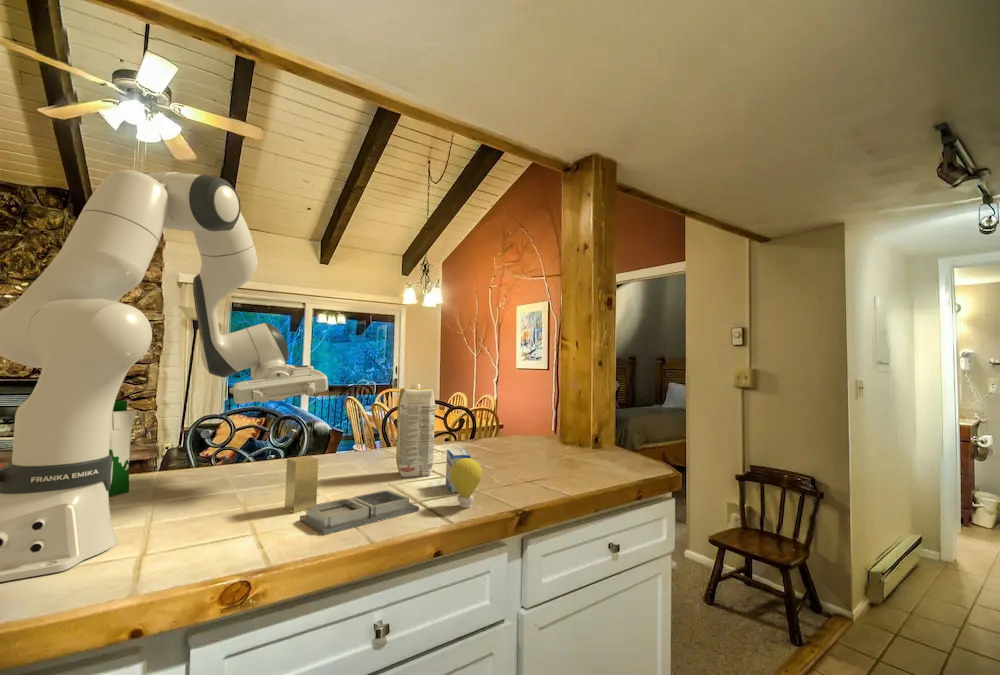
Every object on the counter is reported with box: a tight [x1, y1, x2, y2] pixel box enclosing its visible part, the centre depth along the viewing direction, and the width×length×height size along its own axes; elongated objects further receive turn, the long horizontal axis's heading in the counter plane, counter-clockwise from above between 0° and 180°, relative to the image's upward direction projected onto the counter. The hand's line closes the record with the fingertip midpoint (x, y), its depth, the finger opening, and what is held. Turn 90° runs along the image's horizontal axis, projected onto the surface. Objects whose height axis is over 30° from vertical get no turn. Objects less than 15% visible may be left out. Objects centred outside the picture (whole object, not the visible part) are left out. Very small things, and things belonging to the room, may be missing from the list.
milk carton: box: [108, 399, 137, 498], centre depth 102 cm, size 9×9×20 cm
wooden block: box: [284, 455, 319, 514], centre depth 96 cm, size 4×4×10 cm
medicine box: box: [445, 448, 472, 494], centre depth 113 cm, size 8×4×9 cm, turn 17°
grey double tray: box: [299, 489, 420, 535], centre depth 92 cm, size 20×10×3 cm, turn 135°
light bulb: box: [450, 458, 483, 509], centre depth 99 cm, size 7×7×10 cm
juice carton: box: [395, 383, 436, 478], centre depth 127 cm, size 9×8×24 cm
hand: (288, 395), depth 105 cm, fingers open, 8 cm apart
